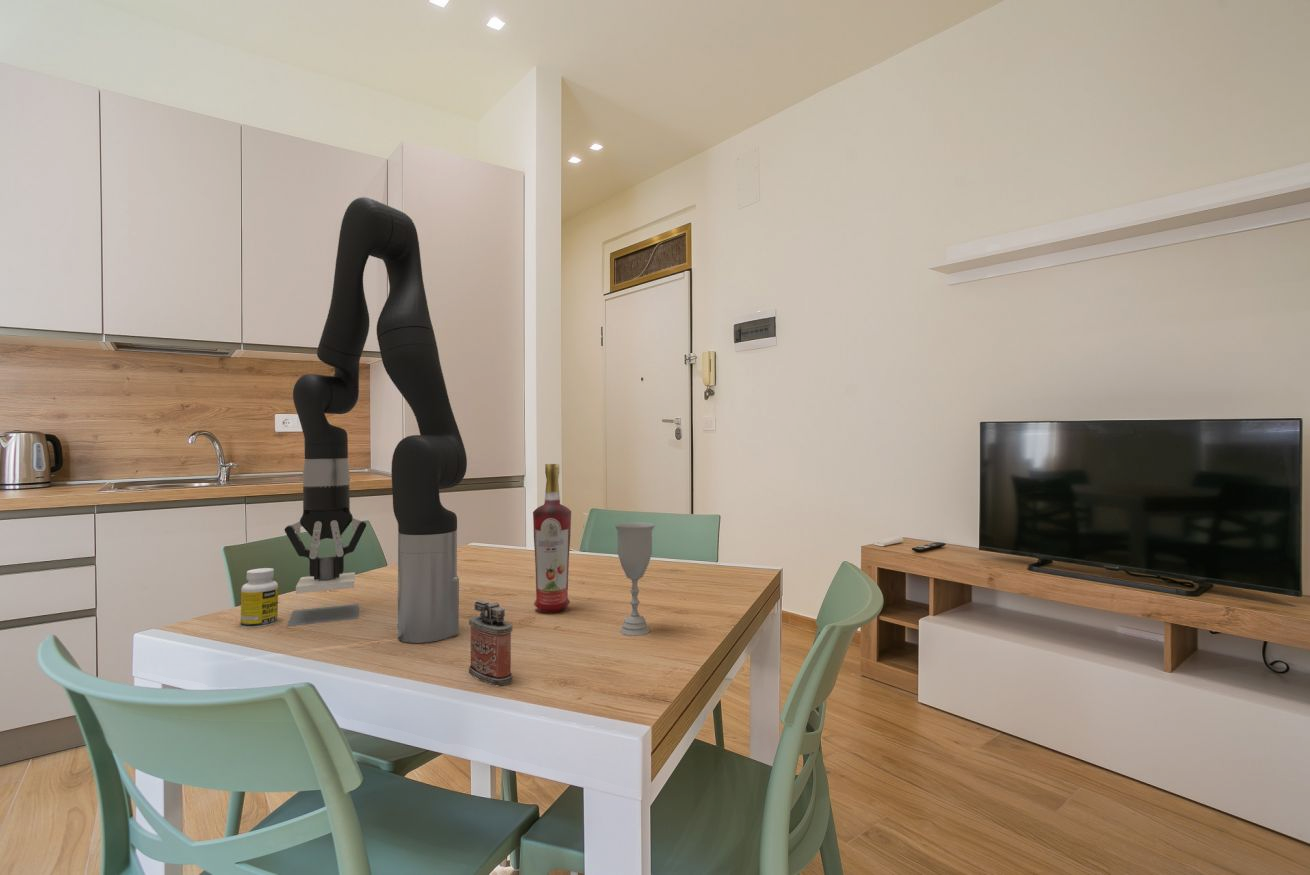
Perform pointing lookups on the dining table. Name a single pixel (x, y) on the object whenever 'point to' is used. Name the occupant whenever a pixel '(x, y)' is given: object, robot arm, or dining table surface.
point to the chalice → (634, 567)
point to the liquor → (552, 547)
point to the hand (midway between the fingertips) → (327, 577)
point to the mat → (323, 614)
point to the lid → (326, 578)
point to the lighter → (490, 644)
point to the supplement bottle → (259, 599)
